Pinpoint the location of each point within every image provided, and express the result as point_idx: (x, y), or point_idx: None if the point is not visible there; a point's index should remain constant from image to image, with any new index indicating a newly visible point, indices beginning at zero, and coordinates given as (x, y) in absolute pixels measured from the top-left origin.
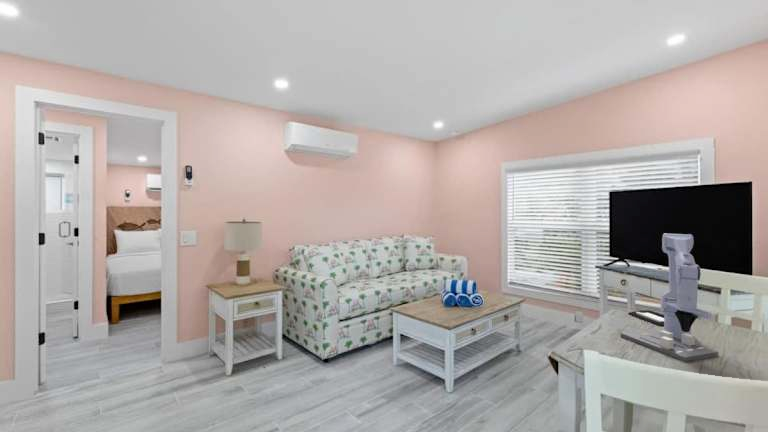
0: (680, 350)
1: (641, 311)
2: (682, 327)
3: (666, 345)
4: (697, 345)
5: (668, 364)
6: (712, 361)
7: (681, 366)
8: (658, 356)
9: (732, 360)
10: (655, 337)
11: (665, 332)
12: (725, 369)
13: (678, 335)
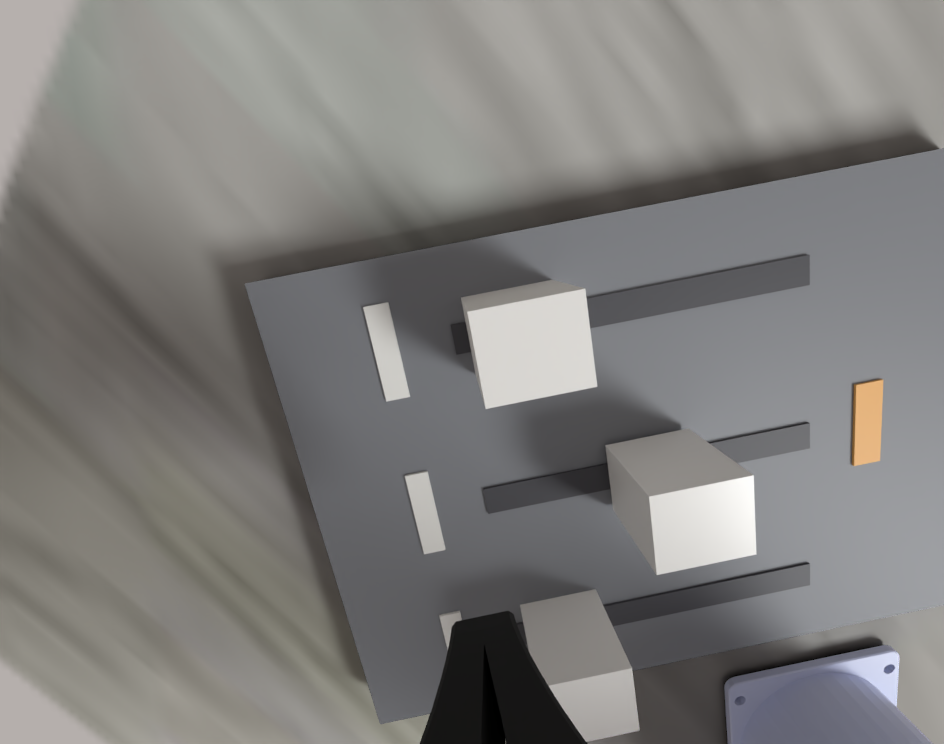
0: (425, 408)
1: None
2: (498, 659)
3: (488, 297)
4: None
5: (185, 5)
6: (270, 547)
7: (141, 122)
8: (395, 96)
9: (291, 713)
10: (760, 448)
11: (703, 507)
12: (108, 506)
13: (760, 720)
